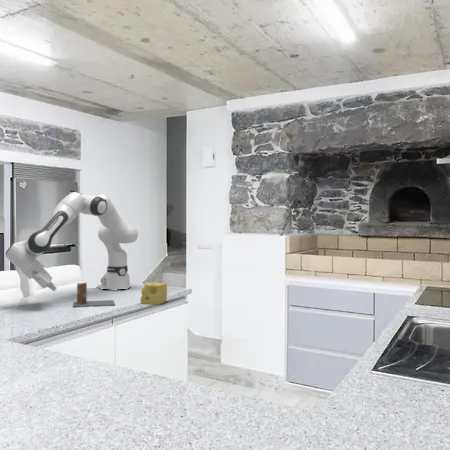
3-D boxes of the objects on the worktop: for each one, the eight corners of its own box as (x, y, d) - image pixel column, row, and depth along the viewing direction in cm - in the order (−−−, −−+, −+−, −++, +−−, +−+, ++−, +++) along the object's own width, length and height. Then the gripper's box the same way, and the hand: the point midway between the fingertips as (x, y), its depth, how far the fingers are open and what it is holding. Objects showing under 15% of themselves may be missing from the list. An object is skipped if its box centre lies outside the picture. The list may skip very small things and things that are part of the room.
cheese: (140, 303, 236) (140, 284, 236) (149, 300, 247) (150, 281, 246) (159, 305, 233) (159, 285, 233) (167, 301, 244) (167, 282, 243)
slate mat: (72, 307, 224) (72, 306, 224) (73, 302, 236) (73, 301, 236) (114, 305, 230) (114, 304, 230) (113, 301, 242) (113, 300, 242)
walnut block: (77, 304, 228) (77, 284, 228) (77, 302, 233) (77, 283, 233) (86, 304, 230) (86, 284, 230) (86, 302, 234) (86, 282, 234)
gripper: (37, 268, 215) (59, 288, 218) (41, 263, 235) (61, 282, 238) (26, 278, 214) (49, 298, 217) (31, 272, 233) (52, 291, 236)
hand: (55, 289), depth 227 cm, fingers closed
